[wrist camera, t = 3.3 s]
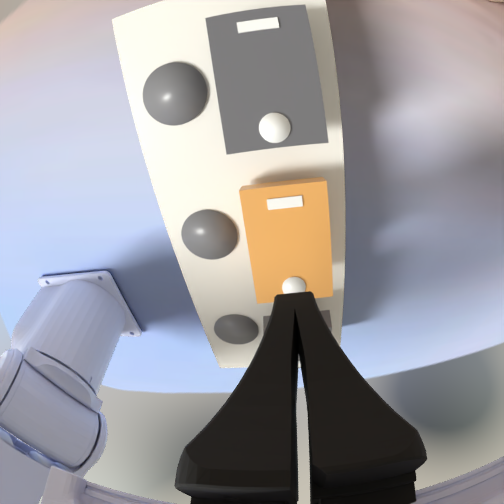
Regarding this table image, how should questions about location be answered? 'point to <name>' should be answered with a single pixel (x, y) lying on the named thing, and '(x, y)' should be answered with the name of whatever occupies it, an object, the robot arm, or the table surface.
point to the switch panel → (221, 162)
